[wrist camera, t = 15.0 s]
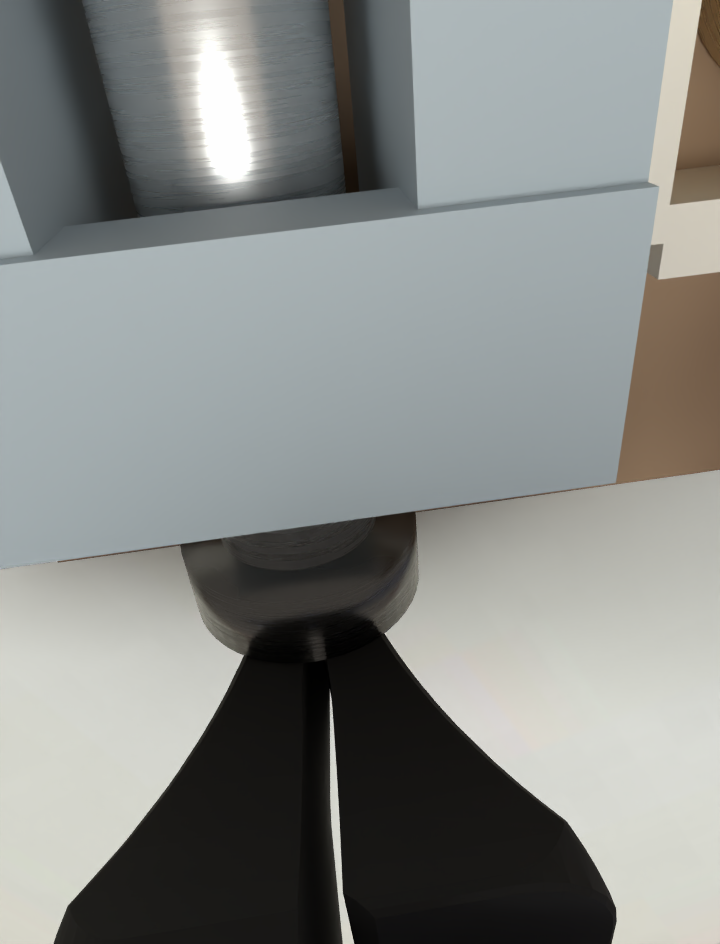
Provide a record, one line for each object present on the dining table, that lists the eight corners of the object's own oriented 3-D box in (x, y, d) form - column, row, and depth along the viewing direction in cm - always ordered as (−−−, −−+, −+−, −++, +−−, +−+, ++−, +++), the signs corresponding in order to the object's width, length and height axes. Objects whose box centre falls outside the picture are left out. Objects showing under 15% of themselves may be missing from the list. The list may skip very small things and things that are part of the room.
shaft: (307, -820, 5) (357, -1883, 2) (398, 498, 13) (439, 643, 10) (-152, -800, 5) (-710, -1914, 2) (206, 525, 12) (187, 680, 9)
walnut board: (1467, -1085, 6) (1650, -1255, 5) (883, 419, 15) (919, 441, 14) (-573, -1023, 5) (-725, -1214, 5) (70, 531, 14) (57, 562, 13)
